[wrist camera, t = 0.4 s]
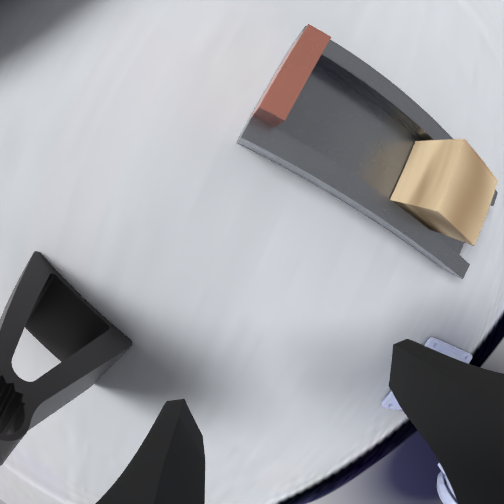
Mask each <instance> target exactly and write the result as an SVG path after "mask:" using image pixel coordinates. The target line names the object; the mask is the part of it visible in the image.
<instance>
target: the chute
mask: <svg viewBox="0 0 504 504" xmlns="http://www.w3.org/2000/svg"><path fill="white" fill-rule="evenodd" d="M330 39H331V37H330V36H328V35H327V34H325V33H323V32H322V31H320V30H318V29H316V28H315V27H313V26H311V25H309V24H308V25H307V26H305V27H304V29H303V30H302V32H301V33H300V34H299V36H298V37H297V39H296V40H295V41H294V43H293V44H292V46H291V48H290V49H289V51H288V52H287V54H286V56H285V57H284V59H283V61H282V62H281V64H280V66H279V67H278V69H277V71H276V72H275V74H274V76H273V78H272V79H271V81H270V83H269V84H268V86H267V88H266V90H265V91H264V93H263V95H262V97H261V98H260V100H259V102H258V104H257V106H256V107H255V109H254V111H253V113H252V115H251V116H250V118H249V120H248V122H247V124H246V126H245V127H244V129H243V131H242V133H241V135H240V137H239V139H238V140H237V142H236V143H238V144H241V145H243V146H245V147H247V148H249V149H251V150H253V151H254V152H256V153H258V154H260V155H262V156H264V157H266V158H268V159H270V160H272V161H274V162H276V163H278V164H279V165H281V166H283V167H285V168H287V169H289V170H290V171H292V172H294V173H296V174H298V175H299V176H301V177H303V178H305V179H307V180H308V181H310V182H312V183H314V184H315V185H317V186H319V187H321V188H322V189H324V190H326V191H327V192H329V193H331V194H332V195H334V196H336V197H337V198H339V199H341V200H342V201H344V202H346V203H347V204H349V205H350V206H352V207H354V208H355V209H357V210H358V211H360V212H362V213H363V214H365V215H366V216H368V217H369V218H371V219H373V220H374V221H376V222H377V223H379V224H380V225H382V226H383V227H385V228H386V229H388V230H389V231H391V232H392V233H394V234H395V235H397V236H398V237H400V238H401V239H402V240H404V241H405V242H407V243H408V244H410V245H411V246H412V247H414V248H415V249H417V250H418V251H419V252H421V253H422V254H424V255H425V256H426V257H428V258H429V259H430V260H432V261H433V262H434V263H436V264H437V265H439V266H440V267H441V268H443V269H445V270H446V271H448V272H450V273H452V274H454V275H456V276H458V277H460V278H462V279H463V277H464V275H465V273H466V271H467V269H468V267H469V265H470V264H469V263H467V262H466V261H465V260H464V259H463V258H462V257H461V256H460V255H459V253H460V251H461V249H462V247H463V244H464V242H462V241H460V240H457V239H454V238H452V237H449V236H446V235H443V234H441V233H438V232H435V231H432V230H429V229H428V228H427V227H425V226H424V225H423V224H422V223H420V222H419V221H418V220H417V219H415V218H414V217H413V216H411V215H410V214H409V213H408V212H406V211H405V210H404V209H402V208H401V207H400V206H398V205H397V204H396V203H394V202H393V201H391V200H390V198H391V196H392V194H393V192H394V190H395V188H396V185H397V183H398V181H399V179H400V177H401V174H402V172H403V170H404V167H405V165H406V163H407V160H408V158H409V156H410V153H411V151H412V148H413V146H414V144H415V141H427V140H448V139H453V138H452V137H451V136H450V135H449V134H448V133H447V132H446V131H445V130H444V129H443V128H442V127H441V126H440V125H439V124H438V123H437V122H436V121H435V120H434V119H433V118H432V117H431V116H430V115H429V114H428V113H427V112H425V111H424V110H423V109H422V108H421V107H420V106H419V105H418V104H417V103H416V102H414V101H413V100H412V99H411V98H410V97H409V96H408V95H406V94H405V93H404V92H403V91H402V90H400V89H399V88H398V87H397V86H396V85H394V84H393V83H392V82H391V81H389V80H388V79H387V78H385V77H384V76H383V75H381V74H380V73H379V72H378V71H376V70H375V69H373V68H372V67H371V66H369V65H368V64H367V63H365V62H364V61H362V60H361V59H359V58H358V57H356V56H355V55H354V54H352V53H351V52H349V51H347V50H346V49H344V48H343V47H341V46H340V45H338V44H337V43H335V42H333V41H332V40H330ZM496 196H497V191H496V190H495V192H494V195H493V198H492V201H491V204H490V205H491V206H493V205H494V203H495V200H496Z"/></svg>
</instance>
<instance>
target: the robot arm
mask: <svg viewBox="0 0 504 504" xmlns="http://www.w3.org/2000/svg"><path fill="white" fill-rule="evenodd" d="M471 359H472V355H471V354H470V353H468V352H465V351H463V350H461V349H459V348H457V347H454V346H452V345H450V344H448V343H445V342H443V341H441V340H439V339H436V338H434V337H431V338H429V339H428V340H427V342H426V343H425V345H421V344H419V343H417V342H414V341H412V340H409V339H406V340H403V341H401V342H399V343H396V344H393V354H392V364H391V373H390V381H389V387H390V389H391V392H390V393H389V394H388V395H387V397H386V398H385V399H384V400H383V401H382V403H381V406H382V407H383V408H387V409H396V410H403V411H404V413H405V414H406V415H407V417H408V418H409V419H410V421H411V422H412V423H413V425H414V426H415V427H416V429H417V430H418V431H419V433H420V434H421V435H422V436H423V438H424V439H425V440H426V442H427V443H428V445H429V446H430V447H431V449H432V450H433V452H434V453H435V455H436V457H437V459H438V461H439V463H438V466H439V468H440V469H441V472H440V473H439V475H438V479H437V481H438V482H437V490H438V494H439V496H440V499H441V500H442V502H443V504H504V374H502V373H497V372H493V371H489V370H486V369H482V368H480V367H477V366H474V365H471V364H469V362H470V361H471ZM204 502H205V454H204V445H203V436H202V434H201V432H200V430H199V428H198V426H197V424H196V422H195V420H194V418H193V416H192V414H191V412H190V410H189V408H188V406H187V404H186V402H185V400H184V399H180V400H172V401H167V402H166V403H165V405H164V406H163V408H162V410H161V412H160V414H159V415H158V417H157V419H156V421H155V423H154V424H153V426H152V428H151V430H150V431H149V433H148V435H147V436H146V438H145V440H144V441H143V443H142V445H141V446H140V448H139V450H138V451H137V453H136V454H135V456H134V457H133V459H132V460H131V462H130V463H129V464H128V466H127V467H126V469H125V470H124V472H123V473H122V474H121V476H120V477H119V478H118V479H117V481H116V482H115V483H114V484H113V485H112V487H111V488H110V489H109V490H108V491H107V492H106V493H105V495H104V496H103V497H102V498H101V499H100V500H99V501H98V502H97V503H96V504H204Z"/></svg>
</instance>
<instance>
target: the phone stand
mask: <svg viewBox="0 0 504 504" xmlns="http://www.w3.org/2000/svg"><path fill="white" fill-rule="evenodd" d="M24 327H25V328H26V329H27V330H28V331H29V332H30V333H31V334H32V335H33V336H34V337H35V338H36V339H37V340H38V341H39V342H40V343H41V344H43V345H44V346H45V347H46V348H47V349H48V350H49V351H50V352H51V353H52V354H53V355H55V356H56V357H57V358H58V359H59V360H60V361H61V363H60V364H58V365H57V366H56V367H54V368H53V369H51V370H50V371H48V372H47V373H46V374H44V375H43V376H41V377H40V378H38V379H37V380H36V381H33V382H27V381H24V380H22V379H21V378H19V377H18V376H17V375H16V373H15V372H14V370H13V368H12V363H11V361H12V357H13V354H14V352H15V349H16V347H17V344H18V341H19V339H20V337H21V334H22V332H23V329H24ZM131 346H132V341H131V340H130V339H129V338H128V337H127V336H126V335H124V334H123V333H122V332H121V331H120V330H118V329H117V328H116V327H115V326H114V325H113V324H111V323H110V322H109V321H108V320H107V319H106V318H105V317H104V316H102V315H101V314H100V313H99V312H98V311H97V310H96V309H95V308H94V307H93V306H91V305H90V304H89V303H88V302H87V301H86V300H83V299H82V298H81V295H80V294H79V293H78V292H77V291H76V290H75V289H74V288H73V287H72V286H71V285H70V284H69V283H68V282H67V281H66V280H65V279H64V278H63V277H62V276H61V275H60V274H59V273H58V272H57V271H56V270H55V269H54V268H53V267H52V266H51V264H50V263H49V262H48V261H47V260H46V259H45V258H44V257H43V256H42V255H41V253H39V252H37V251H35V252H34V253H33V255H32V257H31V259H30V260H29V262H28V264H27V266H26V267H25V269H24V271H23V273H22V275H21V277H20V278H19V280H18V282H17V284H16V286H15V288H14V290H13V292H12V294H11V296H10V298H9V300H8V302H7V305H6V307H5V309H4V312H3V314H2V317H1V319H0V466H1V465H2V464H3V463H4V461H5V460H6V459H7V457H8V456H9V455H10V453H11V452H12V451H13V449H14V448H15V447H16V445H17V444H18V443H19V442H20V440H21V439H22V438H23V436H24V435H25V434H26V433H27V431H28V430H29V429H31V428H32V427H34V426H35V425H37V424H38V423H40V422H41V421H43V420H44V419H45V418H47V417H48V416H50V415H51V414H53V413H54V412H55V411H57V410H58V409H60V408H61V407H63V406H64V405H65V404H67V403H68V402H70V401H71V400H73V399H74V398H75V397H77V396H78V395H80V394H81V393H83V392H84V391H85V390H87V389H88V388H90V387H91V386H92V385H93V384H94V383H95V382H96V381H97V380H98V379H99V378H100V377H101V376H102V375H103V374H104V373H105V372H106V371H107V370H108V369H109V368H110V367H111V366H112V365H113V364H114V363H115V362H116V361H117V360H118V359H119V358H120V357H121V356H122V355H123V354H124V353H125V352H126V351H127V350H128V349H129V348H130V347H131Z"/></svg>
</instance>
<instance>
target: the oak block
mask: <svg viewBox="0 0 504 504" xmlns="http://www.w3.org/2000/svg"><path fill="white" fill-rule="evenodd" d="M497 182H498V180H497V179H496V178H495V176H494V175H493V173H492V172H491V171H490V169H489V168H488V167H487V166H486V164H485V163H484V162H483V160H482V159H481V158H480V157H479V155H478V154H477V153H476V152H475V151H474V149H473V148H472V147H471V146H470V145H469V143H468V142H467V141H466V140H465V139H448V140H427V141H415V144H414V146H413V148H412V151H411V153H410V156H409V158H408V160H407V163H406V165H405V167H404V170H403V172H402V174H401V177H400V179H399V181H398V183H397V185H396V188H395V190H394V192H393V194H392V196H391V198H390V200H391V201H393V202H394V203H396V204H397V205H398V206H400V207H401V208H402V209H404V210H405V211H406V212H408V213H409V214H410V215H411V216H413V217H414V218H415V219H417V220H418V221H419V222H420V223H422V224H423V225H424V226H425V227H427V228H428V229H429V230H432V231H435V232H438V233H441V234H443V235H446V236H449V237H452V238H454V239H457V240H460V241H462V242H465V243H468V244H470V245H473V246H474V245H475V243H476V241H477V238H478V236H479V233H480V231H481V228H482V226H483V223H484V220H485V218H486V215H487V212H488V210H489V207H490V204H491V201H492V198H493V195H494V192H495V189H496V185H497Z"/></svg>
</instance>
